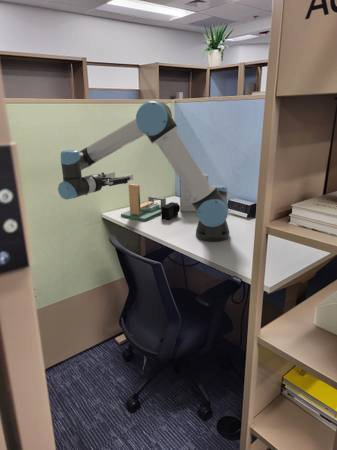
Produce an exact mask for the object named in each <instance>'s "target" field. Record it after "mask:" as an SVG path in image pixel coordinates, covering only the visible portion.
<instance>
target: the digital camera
mask: <svg viewBox="0 0 337 450" xmlns="http://www.w3.org/2000/svg"><path fill="white" fill-rule="evenodd" d="M179 212H180V204H179V203H178V202H174V201H173V202H171V201H170V202H169V203H166V205H164V206H162V207H161V214H160V216H161V220H162V221H163V220H164V221H167V222H168V221H170V220H173V219H174V218H175V217H178V216H179Z"/></svg>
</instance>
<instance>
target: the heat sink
mask: <svg viewBox="0 0 337 450" xmlns="http://www.w3.org/2000/svg"><path fill="white" fill-rule="evenodd" d="M159 205H160V203H158V202H154V203H153V204H151V205H148V206H146V207H143V208H141V210H143V211H148V212H152V211H155V210H157V209H159Z"/></svg>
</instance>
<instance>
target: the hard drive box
mask: <svg viewBox="0 0 337 450" xmlns="http://www.w3.org/2000/svg"><path fill="white" fill-rule="evenodd" d="M203 175H204V176H205V178H206V179H207V181H208V182H209V174H208V173H203ZM191 198H192V197H191V195H190V193H189V192H188V190H187V189H186V187H185V186H184V184H183V183H182V181H181V180H180V179H179V202H180V203H179V206H180V210H179V212H197V211H196V209H195V208H194V206H193V205H192V203H191Z"/></svg>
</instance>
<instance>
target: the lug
mask: <svg viewBox="0 0 337 450" xmlns="http://www.w3.org/2000/svg"><path fill="white" fill-rule="evenodd" d="M154 200H157V201H160V205H161V207H162V206H164V205H166V204H167V199H166V197H162V196H161V197H160V196H155V195H149V196H148V201H149V202H154V203H155V201H154Z"/></svg>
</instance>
